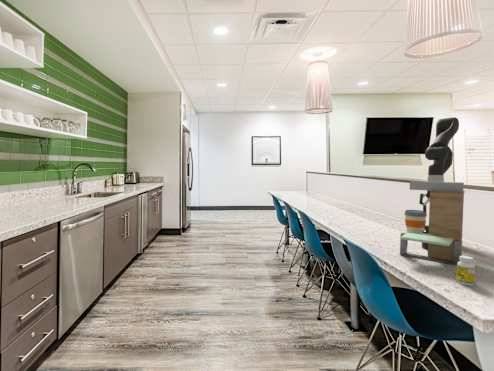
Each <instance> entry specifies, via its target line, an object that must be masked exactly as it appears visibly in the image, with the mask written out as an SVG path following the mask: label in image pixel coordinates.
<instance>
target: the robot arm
mask: <svg viewBox="0 0 494 371" xmlns="http://www.w3.org/2000/svg"><path fill="white" fill-rule="evenodd" d="M435 125H436V126H435V139H434V141H433V143H432V144H430V145H429V146H428V147H427V148H426V149H425V152H424V157H425V159H427V160H428V161H433V163H432V164H430V165H428V172H427V174H428V175H427V181H426V182H445V178H444V175H445V173H446V172H448V170H449V169H450V168H451V167H452V165H453V158H454V157H453V156H454V153H453V151H452V150H451V148H450V147H449V143H450V141H451V140H452V138H453V137H454V136H455V135H456V134H457V133H458V132H459V129H460V128H459V127H460V121H459V118H458V117H447V118H446V117H445V118H440V119H438V120H437V121H436V124H435ZM429 191H430V190H426V193H420V195H419V202H418V203H419V205H422V207H423V208H422V211H424V212H426V213H427V205H428V203H430V192H429ZM425 197H426V200H425V201H424V202H423V200H424V198H425Z"/></svg>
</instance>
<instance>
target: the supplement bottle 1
mask: <svg viewBox="0 0 494 371" xmlns="http://www.w3.org/2000/svg"><path fill="white" fill-rule="evenodd" d="M422 233H425V234H429V224H428V225H427V224H425V226H424V231H422ZM421 248H422V249H425V250H428V243H424V242H421Z"/></svg>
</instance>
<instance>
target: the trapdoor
mask: <svg viewBox="0 0 494 371" xmlns="http://www.w3.org/2000/svg"><path fill="white" fill-rule="evenodd" d="M405 233H406V234H404V235H403V236H401V235H400V237H401V239H404V240H408V241H413V242H417V243H418V242H419V243H422V242H424V243H431V244H437V245H444V246H450V244H451V243H452V242H453V239H452V238H444V237H439V235H433V234H425V233H421V234H414V233H407V232H405Z"/></svg>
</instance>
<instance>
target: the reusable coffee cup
mask: <svg viewBox="0 0 494 371" xmlns="http://www.w3.org/2000/svg"><path fill="white" fill-rule="evenodd" d="M404 215H405V216H404V217H405V218H404V223H405V228H406V233H414V234H421V233H422V231H424V230H425V229H424V226H425V225H427V224H426V223H427V215H428V214H427V211H426V212H424V211H423V210H420V209H419V210H417V209H405V211H404Z"/></svg>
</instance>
